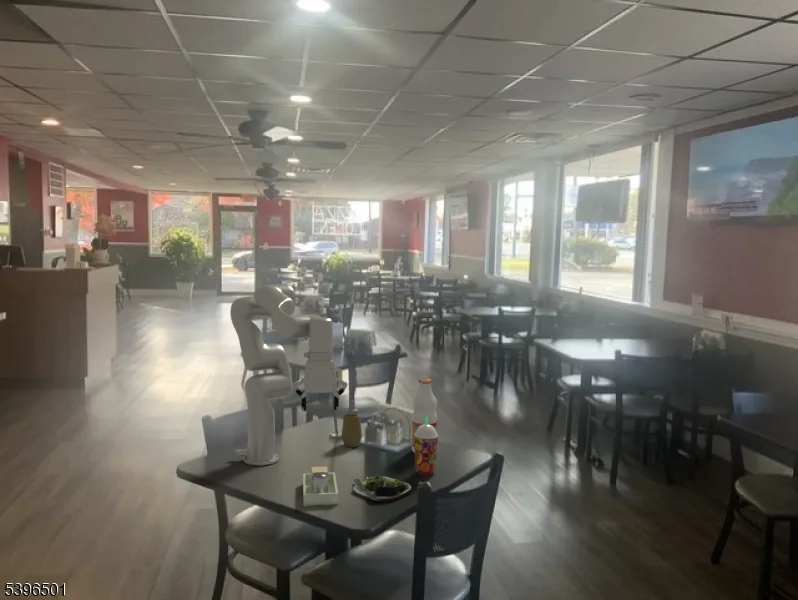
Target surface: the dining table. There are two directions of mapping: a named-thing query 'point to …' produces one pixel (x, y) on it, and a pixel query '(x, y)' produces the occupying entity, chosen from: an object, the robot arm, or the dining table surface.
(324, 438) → the dining table surface
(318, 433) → the dining table surface
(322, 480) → the steel can
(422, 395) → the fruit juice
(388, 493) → the salad plate
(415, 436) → the smoothie
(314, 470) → the cardboard box
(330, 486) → the tote
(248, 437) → the robot arm
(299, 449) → the dining table surface
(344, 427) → the squeeze bottle
